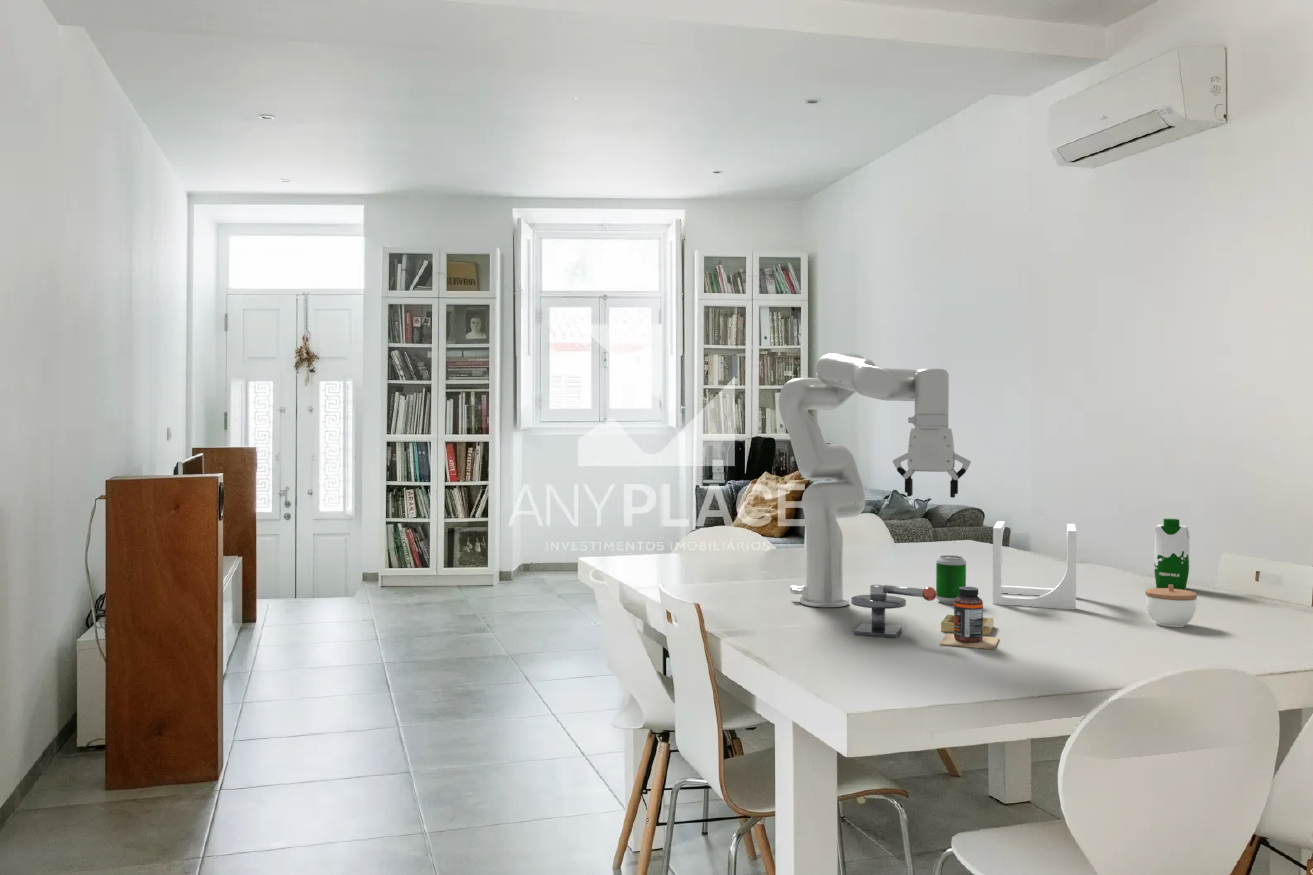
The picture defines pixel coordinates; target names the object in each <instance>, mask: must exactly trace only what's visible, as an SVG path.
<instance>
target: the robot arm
mask: <svg viewBox="0 0 1313 875" xmlns="http://www.w3.org/2000/svg"><path fill="white" fill-rule="evenodd" d="M815 374H816V378H815V377H797V378H792V379H790V380H788V381H787V382H785V383H784V385H783V386H782V387H781V389H780V392H779V395H778V396H779V397H778V410H779V415H780V417H781V420H782V422H783V424H784V427H785V429H786V431H787V433H788V437H789V439H790V440H789V441H790V444H791V448H792V450H793V454H794V458H795V462H796V465H797V468H798V471H799V473H800V476H802V478H803V479H806V480H809V481H827V480H829V482H817V483H814V484H811V485H810V486H809V485H808V487H807V488H805V490H804V492H803V494H802V498H801V501H802V502H801V503H802V504H801V505H802V510H803V516H804V522H805V524H804V525H805V585H802V586H798V585H790V589H789V590H790V593H791V594H792V595H801V596H802V597H800V598H799V603H800V604H802V605H804V606H809V607H815V608H840V607H845V606H848V605H849V604H850V603H849V602H850V600H849V598H847V597H845V596H843V595H844V592H843V591H844V590H843V589H844V587H843V586H844V585H843V583H844V581H843V580H844V577H843V575H844V573H843V572H844V570H843V569H844V563H843V562H844V560H843V559H844V540H843V539H844V538H843V532H842V529H841V527H840V524H839V522H838V520H837V519H848V518H849V519H850V518H854V517H858V516H859V515H861V514H862V513H863V511H864V509H865V506H866V494H865V490H864V487H863V484H862V480H861V477H860V473H859V470H858V467H857V464H856V461H855V458H854V456H853V454H852V452H851V451H850V450H849V449H848V447H846V446H844V445H842V444H838V443H835V444H834V443H833V444H832V443H826V442H825V440H824V438H823V434H822V429H821V427H820V425H819V424H818V421H817V420H816V419H815V418H814V417H813V416H812V415H811V414H810V412H809V410H815V411H822V410H823V411H829V410H830V411H831V410H835V409H837V408H839V407H841V406H842V405H843V404H844V403H845V402H847V401H848V400H849V399H850V398H851V397H852V396H853V395H854V394H855V393H857V394H859V395H861V396H864V397H869V398H873V399H876V400H881V401H885V402H886V401H887V402H888V401H891V402H892V401H893V402H894V401H897V402H914V414H913V416H909V417H908V419H907V421H908V424H913V426H914V428H910V432H909V437H908V448H907V452H906V453H904V454H902V455H900V456H898V457H896V458H894V459H893V460H892V463H893V465H894V467H895V468H896V471H897V472H898V473H899V474H900V476H901V477H903V479H904V493H907V494H906V496H907V497H912V496H913V494H914V493H913V492H914V491H913V490H914V488H913V483H914V482H913V481H914V480H913V478H912V476H913V475H914V473H915V472H932V473H933V472H936V473H937V472H938V473H939V472H942V473H943V472H946V473H947V474H948V475H949V476H950V477H951V480H950V481H949V482H950V485H949V486H950V487H949V488H950V491H949V496H950V498H952V499H953V498H956V495H958V494H959V480H960V478H961V477H963V476H964V474H966V472H968V468H969V467H970V465H971V463H972V462H971V460H969V459H968V458H965V457H964V456H961V455H960V454H958V453H956V452H955V442H954V436H953V435H954V434H953V430H952V428H949V421H950V420H949V410H950V409H949V401H950V399H949V398H950V397H949V395H950V394H949V391H950V390H949V389H950V388H949V382H950V381H949V380H950V379H949V378H950V377H949V375H950V374H949V372H948V370H946V369H944V368H937V367H936V368H932V367H931V368H920V369H911V368H910V369H909V368H889V367H888V368H886V367H881V366H880V367H879V366H877V365H876V364H875V363H874V362H873V361H872V360H871V359H868V358H865V357H864V356H861V355H859V354H856V353H855V354H854V353H842V352H841V353H838V352H832V353H827V354H825V355H822V356H821V357H820V358H819V359H818V360H817V361H816V364H815ZM904 461H907V468H908V469H907V470H906V469H905V468H904V467H903V465H902V463H903V462H904ZM955 461H957V462H959V463H962V466H961V468H960V469H959V470H958V471H956V470H955V469H954V468H955V465H956V464H955V463H956V462H955Z"/></svg>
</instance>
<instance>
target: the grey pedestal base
mask: <svg viewBox="0 0 1313 875" xmlns="http://www.w3.org/2000/svg"><path fill="white" fill-rule="evenodd" d="M902 631H903V627H902V626H896V625H886V609H878V608H871V623H862V624H860V625H859V626H858V627H857V628H856V629H854V631H853V635H854V634H855V636H866V637H867V636H868V637H879V638H889V639H890V638H891V639H896V637H898V636H899V634H901V632H902Z"/></svg>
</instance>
